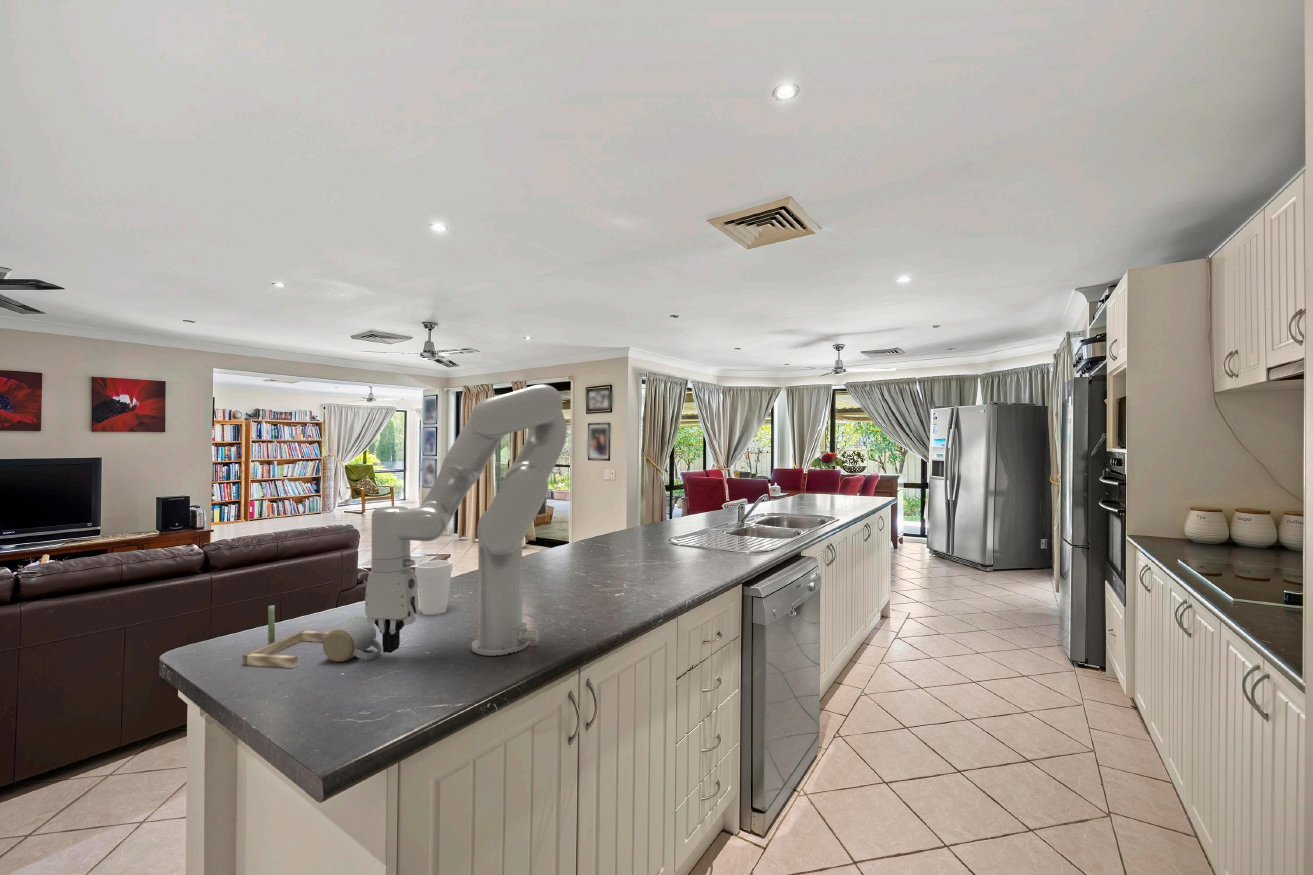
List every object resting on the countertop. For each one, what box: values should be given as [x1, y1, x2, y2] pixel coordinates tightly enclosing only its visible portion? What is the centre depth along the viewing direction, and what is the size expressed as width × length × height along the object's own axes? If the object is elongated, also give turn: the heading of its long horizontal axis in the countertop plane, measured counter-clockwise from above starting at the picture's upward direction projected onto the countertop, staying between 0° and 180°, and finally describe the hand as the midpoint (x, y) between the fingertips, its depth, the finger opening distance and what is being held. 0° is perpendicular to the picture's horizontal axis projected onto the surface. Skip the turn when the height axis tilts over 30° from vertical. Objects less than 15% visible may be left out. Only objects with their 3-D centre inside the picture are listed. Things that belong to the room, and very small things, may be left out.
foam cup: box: [414, 559, 453, 616], centre depth 151 cm, size 10×9×13 cm
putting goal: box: [241, 604, 330, 669], centre depth 122 cm, size 13×15×10 cm
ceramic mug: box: [322, 615, 383, 663], centre depth 119 cm, size 11×8×8 cm
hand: (391, 650), depth 118 cm, fingers closed
